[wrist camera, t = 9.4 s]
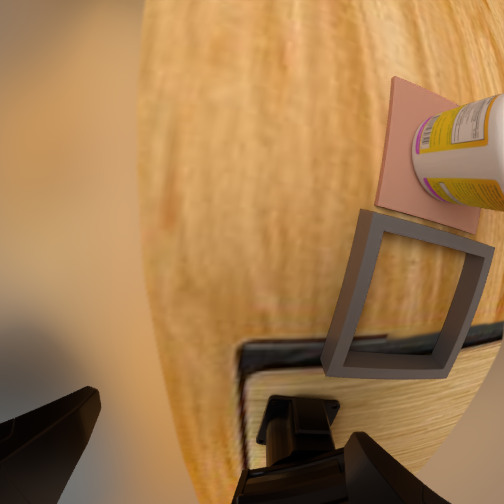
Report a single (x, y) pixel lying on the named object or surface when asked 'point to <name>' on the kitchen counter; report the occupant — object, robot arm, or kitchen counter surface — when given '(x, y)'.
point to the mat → (401, 164)
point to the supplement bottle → (463, 154)
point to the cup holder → (356, 289)
